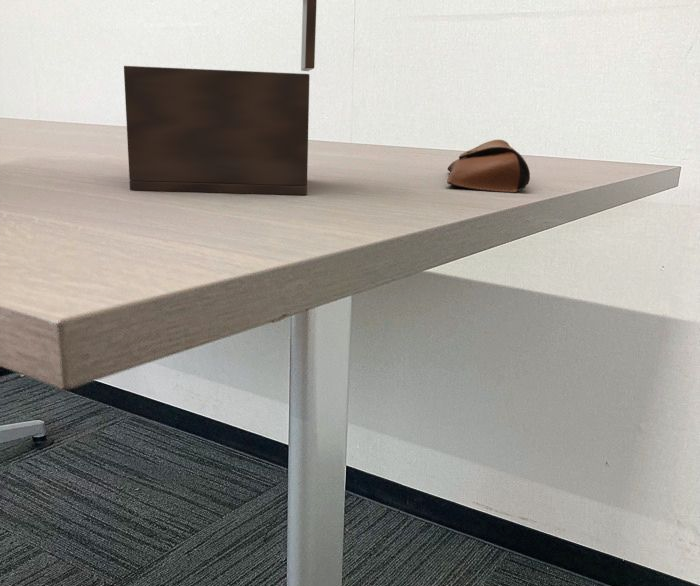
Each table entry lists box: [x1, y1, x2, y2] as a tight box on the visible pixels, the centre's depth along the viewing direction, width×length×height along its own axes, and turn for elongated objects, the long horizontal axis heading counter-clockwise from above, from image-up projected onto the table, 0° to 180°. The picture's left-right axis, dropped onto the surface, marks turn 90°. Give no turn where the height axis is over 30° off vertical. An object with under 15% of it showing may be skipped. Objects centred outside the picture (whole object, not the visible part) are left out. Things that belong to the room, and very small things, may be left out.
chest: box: [123, 65, 311, 196], centre depth 73 cm, size 16×13×10 cm
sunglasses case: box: [446, 139, 531, 194], centre depth 86 cm, size 18×7×7 cm, turn 174°
